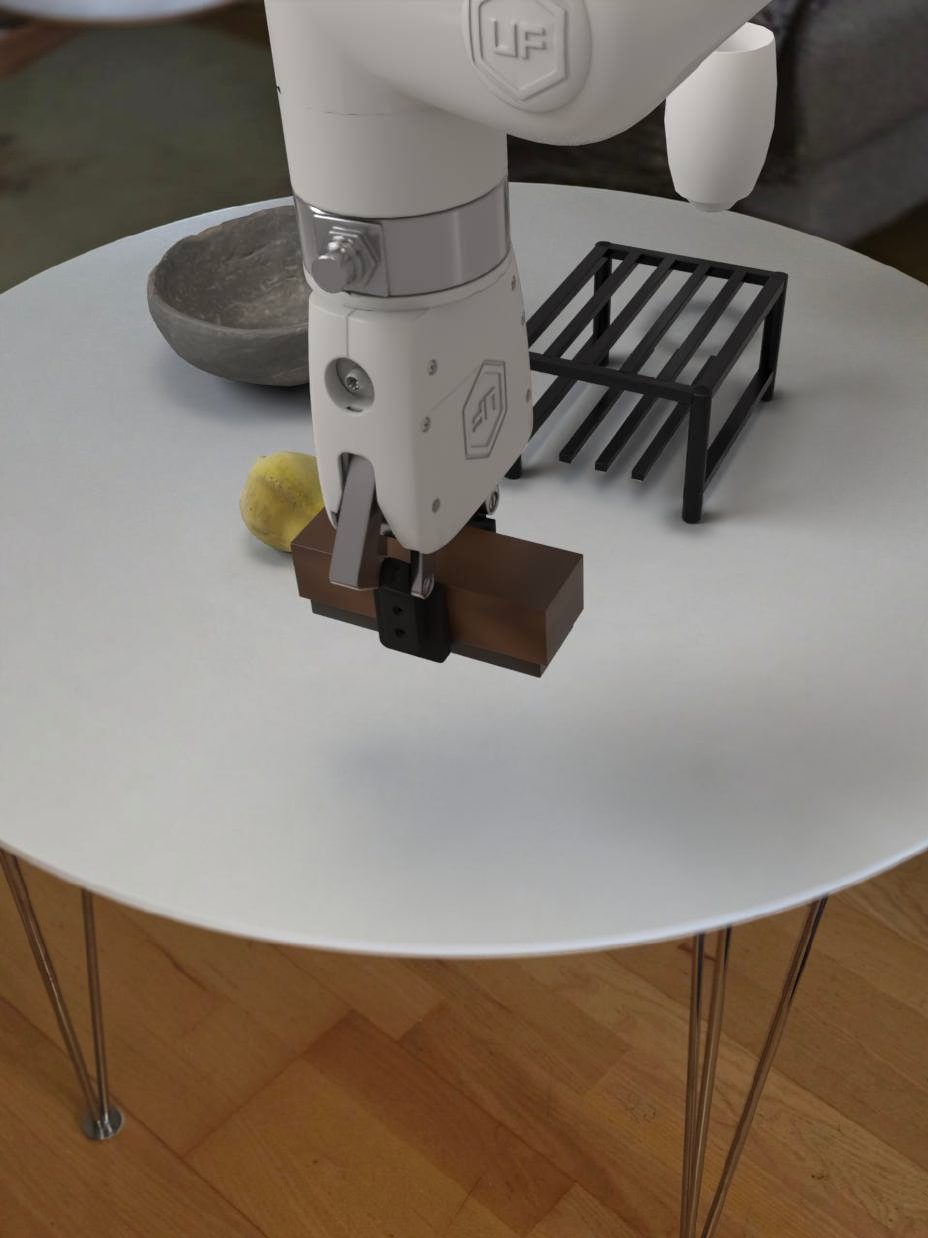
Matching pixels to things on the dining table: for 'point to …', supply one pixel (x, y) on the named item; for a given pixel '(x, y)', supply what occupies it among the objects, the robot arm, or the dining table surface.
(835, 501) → the dining table surface
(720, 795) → the dining table surface
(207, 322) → the bowl
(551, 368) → the rack
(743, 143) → the cup
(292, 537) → the fruit
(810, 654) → the dining table surface
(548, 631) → the brown wooden block
